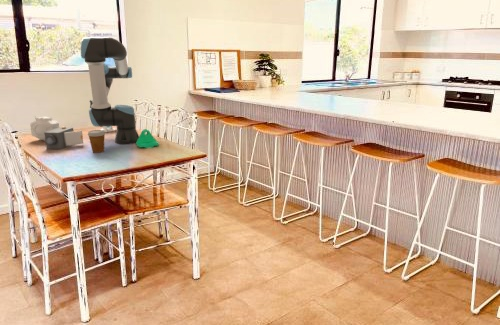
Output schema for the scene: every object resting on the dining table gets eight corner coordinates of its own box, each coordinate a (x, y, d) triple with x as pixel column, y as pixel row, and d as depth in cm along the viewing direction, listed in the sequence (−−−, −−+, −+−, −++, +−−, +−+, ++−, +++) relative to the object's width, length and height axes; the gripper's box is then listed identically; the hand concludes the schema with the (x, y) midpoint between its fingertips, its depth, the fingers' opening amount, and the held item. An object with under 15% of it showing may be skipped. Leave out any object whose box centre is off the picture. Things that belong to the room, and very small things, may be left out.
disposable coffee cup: (110, 150, 239) (108, 130, 235) (97, 154, 231) (95, 133, 227) (99, 148, 243) (97, 129, 240) (86, 152, 235) (83, 131, 232)
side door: (65, 145, 247) (63, 132, 244) (65, 145, 247) (63, 132, 245) (83, 143, 253) (82, 130, 251) (83, 143, 253) (81, 130, 251)
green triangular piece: (139, 149, 243) (138, 132, 240) (136, 146, 249) (135, 130, 247) (159, 146, 249) (158, 130, 246) (155, 144, 255) (154, 128, 252)
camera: (41, 138, 272) (37, 114, 268) (64, 139, 268) (61, 115, 264) (28, 141, 262) (25, 117, 258) (52, 143, 258) (49, 118, 254)
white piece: (108, 132, 291) (106, 111, 287) (95, 131, 295) (93, 110, 290) (118, 129, 302) (116, 109, 298) (105, 128, 306) (103, 108, 301)
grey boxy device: (57, 150, 240) (55, 132, 237) (43, 149, 241) (41, 132, 238) (75, 143, 258) (72, 126, 255) (61, 142, 259) (59, 126, 256)
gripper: (113, 96, 281) (104, 125, 269) (95, 96, 282) (85, 124, 271) (109, 89, 274) (99, 118, 263) (90, 89, 276) (80, 118, 265)
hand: (92, 121), depth 267 cm, fingers closed
